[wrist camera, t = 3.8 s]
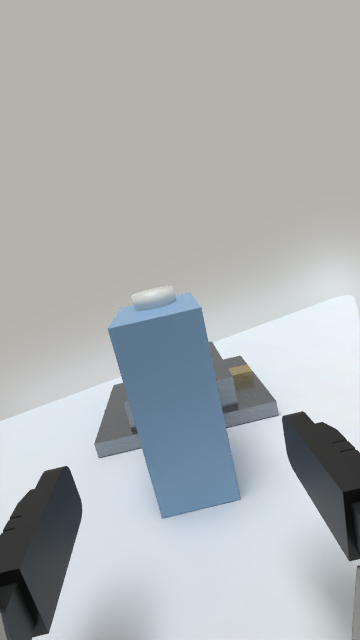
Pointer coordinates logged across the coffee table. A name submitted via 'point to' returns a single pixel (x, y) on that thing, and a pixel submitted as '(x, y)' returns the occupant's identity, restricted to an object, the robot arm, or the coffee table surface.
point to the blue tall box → (174, 400)
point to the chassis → (234, 391)
